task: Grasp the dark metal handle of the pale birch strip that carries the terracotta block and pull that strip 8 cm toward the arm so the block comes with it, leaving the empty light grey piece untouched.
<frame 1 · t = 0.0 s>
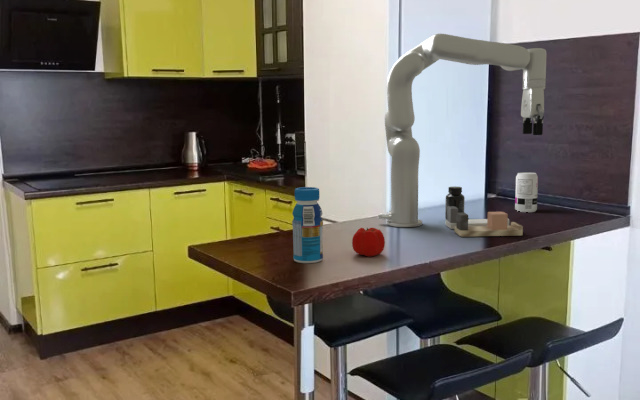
hand: (532, 134, 220), 31 cm above the breakfast bar, fingers open, 9 cm apart
beverage bottle: (308, 261, 173), on the breakfast bar
birch strip: (488, 223, 204), point 4 cm above the breakfast bar, slide at 0.0 cm, touching terracotta block
supplement can: (525, 211, 248), on the breakfast bar
tomato: (367, 255, 178), on the breakfast bar
supplement bottle: (454, 219, 232), on the breakfast bar
light grey piece: (476, 216, 217), point 4 cm above the breakfast bar, slide at 0.0 cm
terracotta block: (497, 228, 204), point 2 cm above the breakfast bar, touching birch strip
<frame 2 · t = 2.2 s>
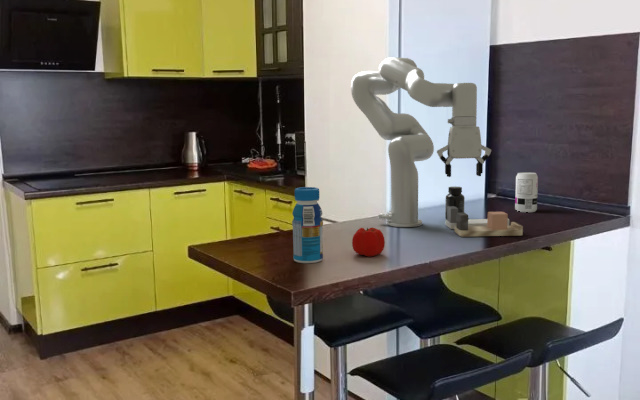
hand: (463, 176, 201), 19 cm above the breakfast bar, fingers open, 9 cm apart
nothing on the breakfast bar moved.
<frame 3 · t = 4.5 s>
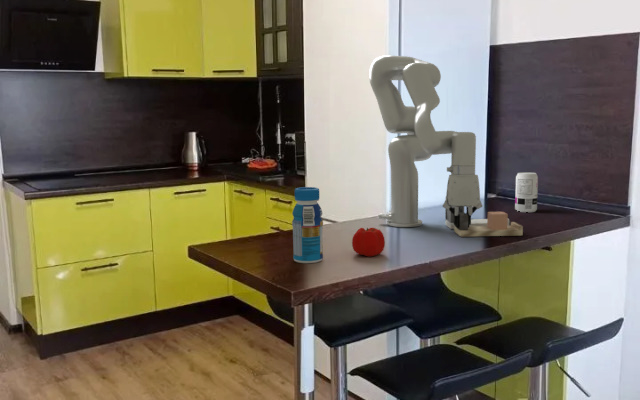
hand: (462, 226, 204), 3 cm above the breakfast bar, fingers closed on birch strip, 2 cm apart
birch strip: (488, 223, 204), point 4 cm above the breakfast bar, slide at 0.0 cm, touching gripper, terracotta block
everything else where it was.
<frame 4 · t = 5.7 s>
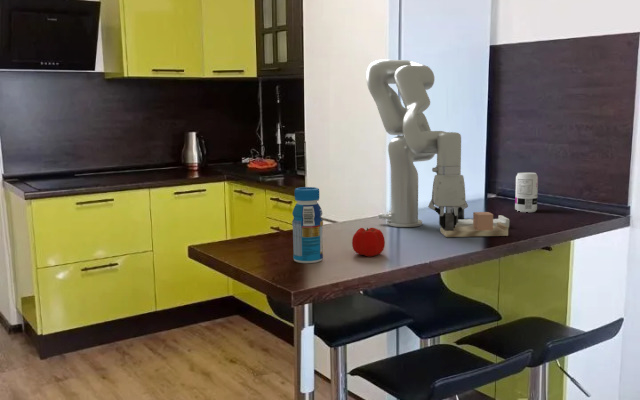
hand: (447, 226, 204), 3 cm above the breakfast bar, fingers closed on birch strip, 2 cm apart
birch strip: (473, 223, 204), point 4 cm above the breakfast bar, slide at 4.7 cm, touching gripper, terracotta block
terracotta block: (482, 228, 204), point 2 cm above the breakfast bar, touching birch strip
everything else where it was.
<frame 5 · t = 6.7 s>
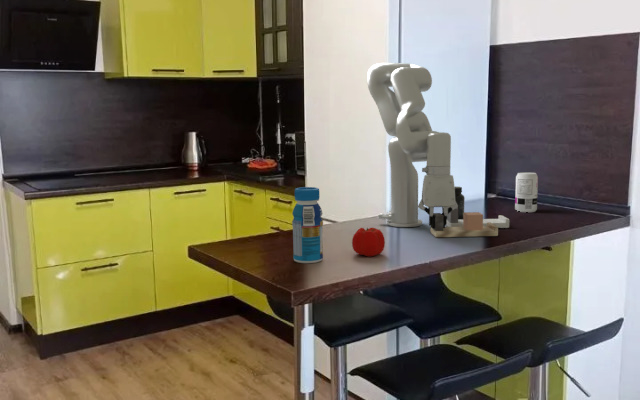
hand: (437, 227, 203), 3 cm above the breakfast bar, fingers closed
birch strip: (463, 223, 204), point 4 cm above the breakfast bar, slide at 8.0 cm, touching terracotta block
terracotta block: (472, 228, 204), point 2 cm above the breakfast bar, touching birch strip
everything else where it was.
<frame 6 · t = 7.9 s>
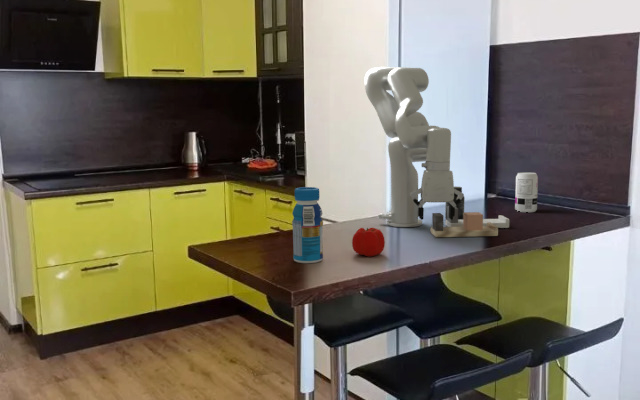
hand: (436, 218, 204), 5 cm above the breakfast bar, fingers open, 9 cm apart
nothing on the breakfast bar moved.
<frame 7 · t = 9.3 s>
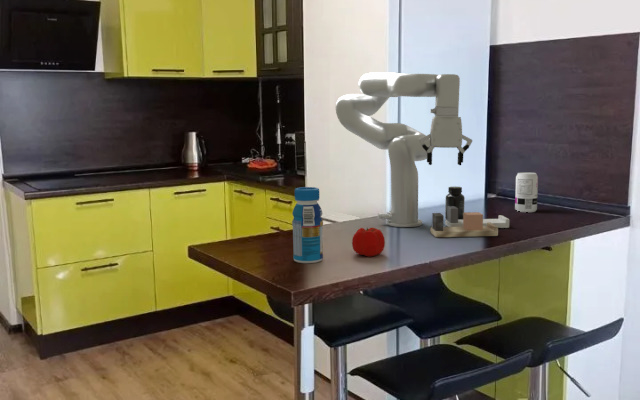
hand: (444, 164, 208), 22 cm above the breakfast bar, fingers open, 9 cm apart
nothing on the breakfast bar moved.
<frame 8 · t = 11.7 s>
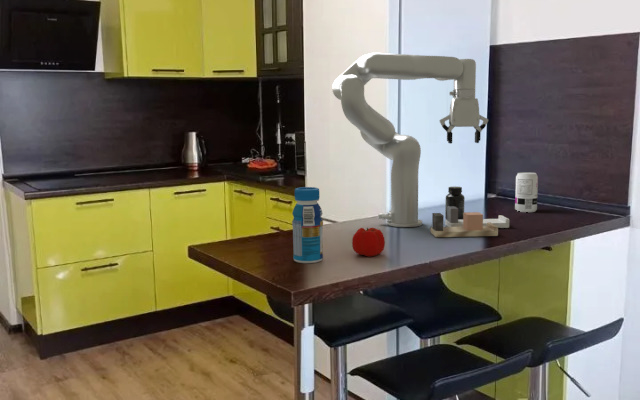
hand: (463, 143, 225), 28 cm above the breakfast bar, fingers open, 9 cm apart
nothing on the breakfast bar moved.
at the end: birch strip slide at 8.0 cm; terracotta block inside the target area (0.0 cm from its centre), point 1.9 cm above the breakfast bar; light grey piece slide at 0.0 cm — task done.
